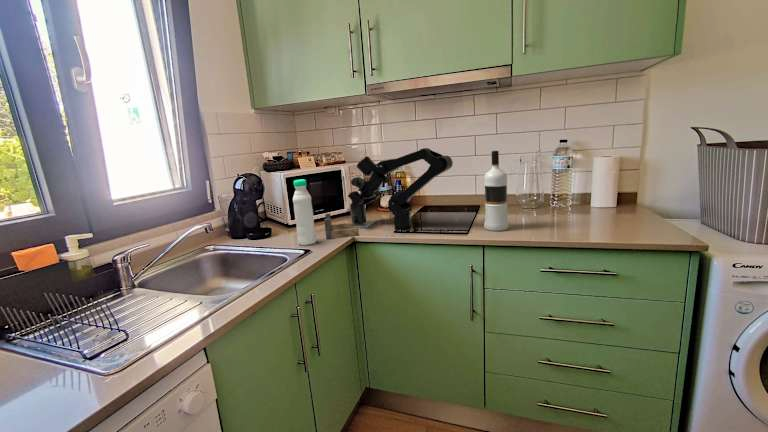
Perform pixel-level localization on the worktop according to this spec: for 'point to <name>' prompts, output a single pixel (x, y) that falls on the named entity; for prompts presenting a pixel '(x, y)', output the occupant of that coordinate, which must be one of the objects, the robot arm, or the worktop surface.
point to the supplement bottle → (358, 214)
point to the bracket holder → (338, 229)
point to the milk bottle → (303, 214)
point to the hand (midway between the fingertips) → (355, 208)
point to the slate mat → (364, 224)
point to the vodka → (496, 197)
